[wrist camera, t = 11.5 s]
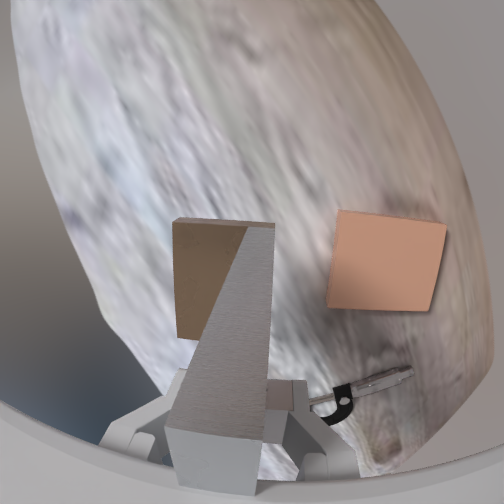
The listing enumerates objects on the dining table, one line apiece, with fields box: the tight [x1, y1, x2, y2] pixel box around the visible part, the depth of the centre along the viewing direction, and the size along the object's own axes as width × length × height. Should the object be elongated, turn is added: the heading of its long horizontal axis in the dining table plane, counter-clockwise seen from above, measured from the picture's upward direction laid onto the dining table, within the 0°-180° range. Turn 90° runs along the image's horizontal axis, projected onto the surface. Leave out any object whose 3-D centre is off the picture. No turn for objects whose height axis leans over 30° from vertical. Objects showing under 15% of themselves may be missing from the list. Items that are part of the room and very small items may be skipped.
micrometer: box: [309, 366, 414, 426], centre depth 32 cm, size 15×7×2 cm, turn 109°
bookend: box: [164, 217, 275, 496], centre depth 13 cm, size 8×6×16 cm
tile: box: [326, 209, 447, 311], centre depth 27 cm, size 9×2×11 cm
